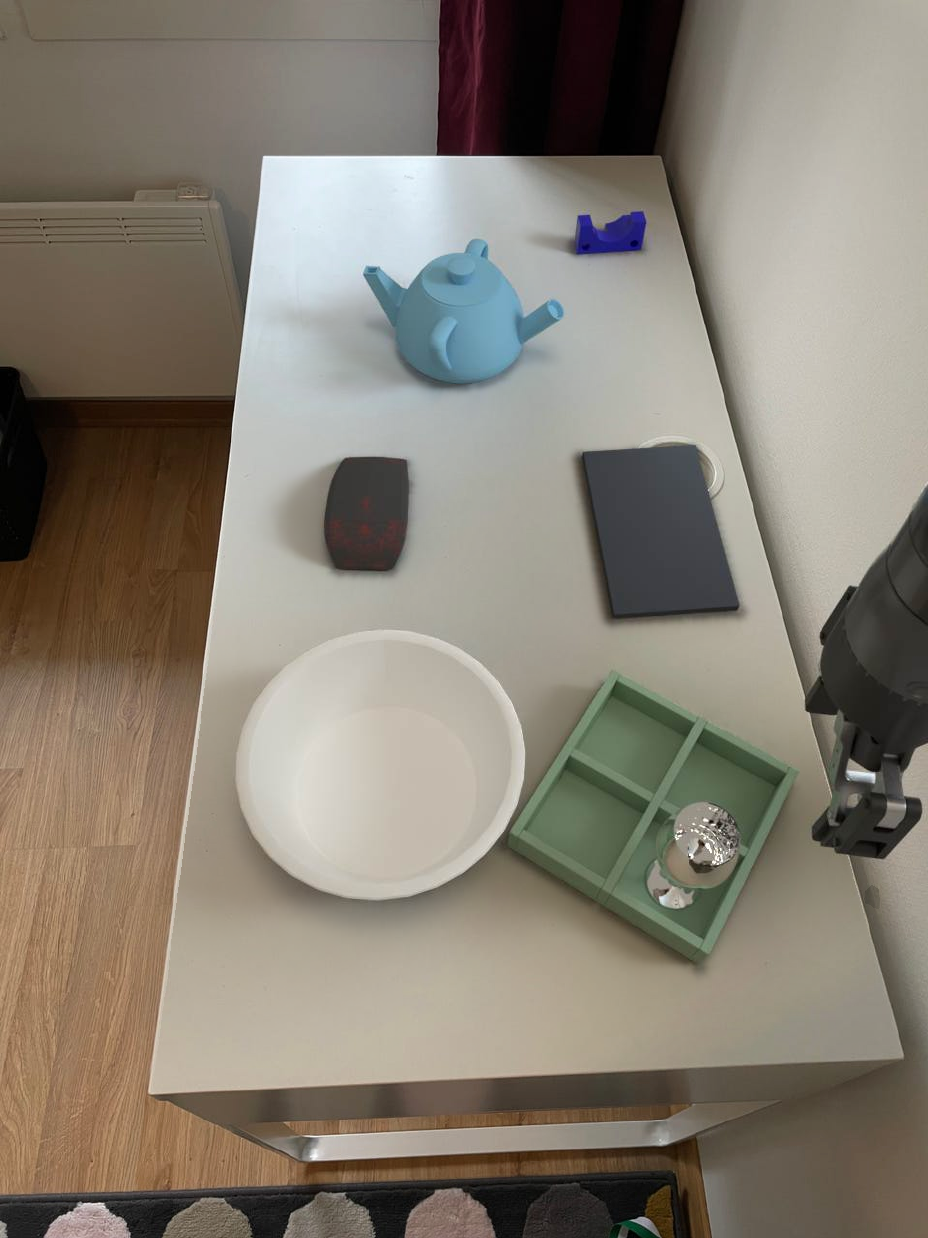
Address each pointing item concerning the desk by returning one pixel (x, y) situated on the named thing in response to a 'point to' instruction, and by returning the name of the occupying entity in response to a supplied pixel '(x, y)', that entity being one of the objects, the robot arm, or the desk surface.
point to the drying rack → (647, 807)
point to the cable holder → (610, 234)
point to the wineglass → (692, 854)
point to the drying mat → (657, 532)
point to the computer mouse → (367, 512)
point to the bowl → (380, 764)
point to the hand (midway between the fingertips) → (824, 770)
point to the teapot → (459, 316)
